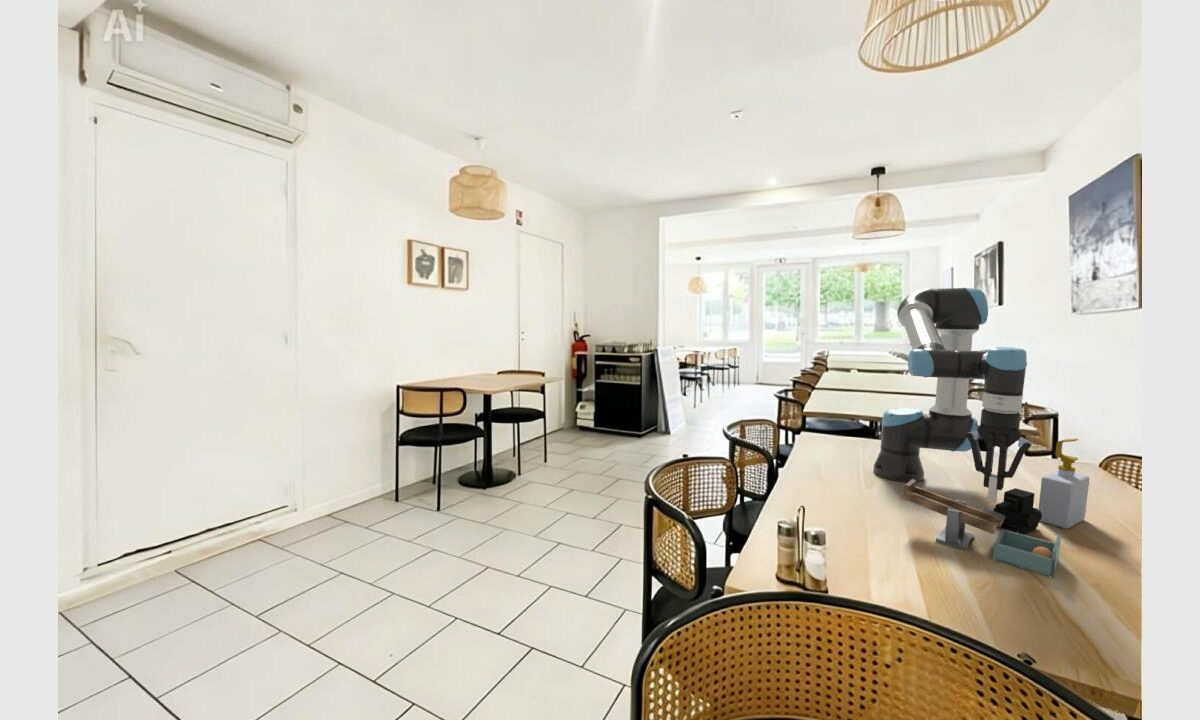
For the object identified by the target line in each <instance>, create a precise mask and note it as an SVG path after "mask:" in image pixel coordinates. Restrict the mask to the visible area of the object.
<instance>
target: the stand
mask: <svg viewBox="0 0 1200 720" xmlns="http://www.w3.org/2000/svg"><path fill="white" fill-rule="evenodd" d="M954 501H957V502H959V503H962V504H965V505H967V506H968V502H967V501H964V500H959V499H955V500H954ZM959 520H960V511H958V510H954V509H950V508H948V510H947V516H946V524H945V527H944V528H943V530H942V531H941V532H940V534H939V535H938V536H937V537H935V542H936V543H938V544H942V545H946V546H948V547H952V548H956V549H958V550H962V551H963V552H964V551H966V549H967V547H968V546H969V544H970V543H971V541H972V540H973V539H974V537H975V536H974V533H970V532H968V531H966V525H967V524H966V523H963V522H960V521H959Z"/></svg>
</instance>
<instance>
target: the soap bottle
mask: <svg viewBox="0 0 1200 720" xmlns="http://www.w3.org/2000/svg"><path fill="white" fill-rule="evenodd" d="M1076 441H1077V442H1078V441H1079V439H1078V438H1065V439H1061V440H1059V441H1057V442H1056V445H1055V452H1054V453H1055V454H1054V455H1055V457H1057V458H1058V459H1060V461H1061V462H1062V464H1061V465H1058V467H1057V468H1058V470H1056V471H1054V472H1051V473H1049V474H1046V475H1043V476H1042V478H1041V484H1040V493H1039V502H1038V503H1039V504H1038V510H1040V511H1041V513H1042V518H1041V520H1040V522H1042V523H1045V524H1048V525H1049V524H1050V525H1052V526H1055V527H1059V528H1062V529H1069V528H1072V527H1073V526H1075V525H1077V524H1079V523H1081V522H1083V521H1084V520H1085V518H1086V511H1087V502H1088V494H1089V487H1090V486H1089V485H1090V476H1088V475H1085V474H1080V473H1075V472H1076V467H1073V466H1072V465H1073V464H1075V463H1076V461H1078V460H1079V458H1078V457H1076V456H1071V455H1066V454H1063V453H1062V452H1063V451H1062V450H1063V443H1066V442H1067V443H1069V442H1076Z"/></svg>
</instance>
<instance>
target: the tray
mask: <svg viewBox="0 0 1200 720" xmlns="http://www.w3.org/2000/svg"><path fill="white" fill-rule="evenodd" d="M1061 539H1062V536H1061V535H1057V537H1056V539H1055V542H1054V541H1053V542H1052V541H1049V540H1046V539H1041V538H1037V537H1033V536H1029V535H1027V534H1025V535H1023V534H1019V533H1017V532H1016V531H1015V532H1014V531H1011V530H1007V529H1003V528H1002V529H1001V531H1000V532H999V534H998V536H997V537H996V539H995V541H994V543H993V552H992V553H993V555H992V560H993V561H997V562H1000V563H1003V564H1006V565H1010V566H1012V565H1013V567H1016V568H1019V567H1020V569H1022V568H1023V570H1027V571H1029V570H1030V571H1029V572H1032V571H1033V572H1032V573H1036V572H1037V573H1036V574H1039V573H1040V575H1042V574H1044V575H1043V576H1046V575H1048V576H1047V577H1049V576H1051V577H1050V578H1052V577H1055V574H1056V571H1057V567H1058V564H1059V556H1060V549H1061V548H1060V547H1061ZM1036 547H1045V548H1047V549H1049V550H1050V551H1051V552H1052V559H1051V558H1047V557H1044V556H1040V555H1037V554H1033V553H1032V552H1033V550H1034V548H1036ZM1055 570H1056V571H1055Z"/></svg>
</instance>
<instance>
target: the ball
mask: <svg viewBox="0 0 1200 720" xmlns="http://www.w3.org/2000/svg"><path fill="white" fill-rule="evenodd" d="M1032 553H1033V554H1037V555H1040V556H1044V557H1047V558H1051V559H1052V552H1051V551H1050V550H1049V549H1047V548H1045V547H1036V548H1034V550H1033V552H1032Z"/></svg>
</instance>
